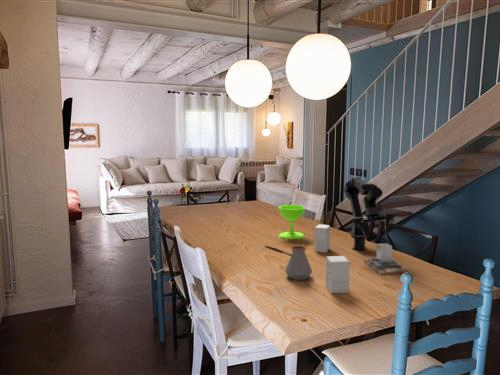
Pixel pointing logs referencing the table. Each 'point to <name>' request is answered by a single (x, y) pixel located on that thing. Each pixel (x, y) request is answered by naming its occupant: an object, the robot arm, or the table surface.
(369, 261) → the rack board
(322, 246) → the small box
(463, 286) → the table surface
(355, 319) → the table surface
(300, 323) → the table surface
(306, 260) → the coffee pot
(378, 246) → the light grey block
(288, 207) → the wineglass
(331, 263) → the supplement box
